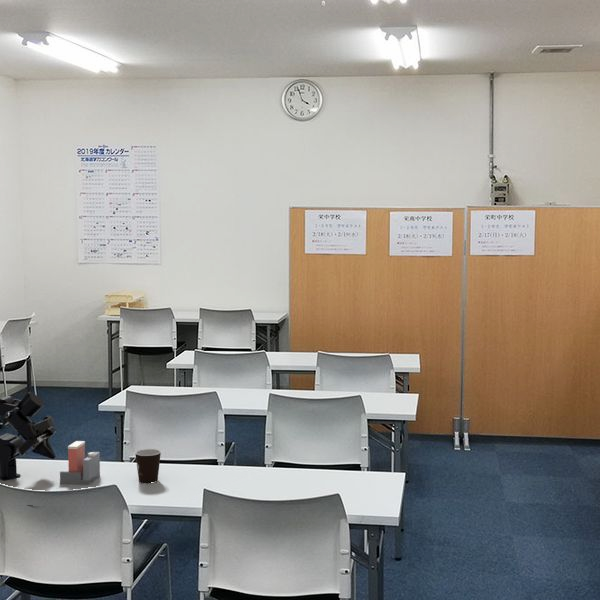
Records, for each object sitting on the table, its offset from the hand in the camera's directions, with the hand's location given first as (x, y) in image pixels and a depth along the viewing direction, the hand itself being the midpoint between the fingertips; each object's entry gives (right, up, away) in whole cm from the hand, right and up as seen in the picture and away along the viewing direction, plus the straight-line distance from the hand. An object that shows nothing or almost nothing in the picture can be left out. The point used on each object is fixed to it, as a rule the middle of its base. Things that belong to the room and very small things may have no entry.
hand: (54, 458), depth 265 cm
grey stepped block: (+9, -7, 0) cm, 11 cm away
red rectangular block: (+8, -6, 0) cm, 10 cm away
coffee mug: (+33, -8, 0) cm, 34 cm away
